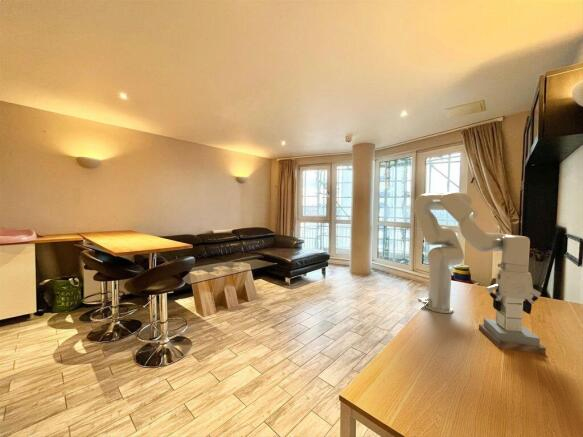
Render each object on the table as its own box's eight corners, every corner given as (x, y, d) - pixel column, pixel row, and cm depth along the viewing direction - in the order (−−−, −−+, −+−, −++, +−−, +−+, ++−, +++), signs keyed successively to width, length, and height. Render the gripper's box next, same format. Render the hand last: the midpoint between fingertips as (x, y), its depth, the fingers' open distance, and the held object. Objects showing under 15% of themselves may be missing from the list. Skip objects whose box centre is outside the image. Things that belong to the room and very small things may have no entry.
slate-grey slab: (498, 340, 88) (499, 332, 88) (483, 325, 100) (483, 318, 100) (539, 346, 85) (539, 338, 85) (518, 329, 96) (519, 322, 96)
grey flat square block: (499, 350, 87) (499, 342, 87) (478, 331, 101) (479, 324, 101) (545, 356, 84) (545, 348, 84) (517, 335, 98) (517, 328, 97)
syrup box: (522, 332, 89) (524, 294, 88) (504, 330, 90) (506, 293, 89) (511, 324, 94) (513, 289, 94) (494, 323, 96) (496, 288, 95)
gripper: (494, 268, 89) (491, 312, 90) (549, 271, 85) (546, 318, 86) (482, 263, 96) (480, 304, 97) (533, 266, 92) (530, 309, 93)
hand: (511, 311), depth 92 cm, fingers open, 9 cm apart
